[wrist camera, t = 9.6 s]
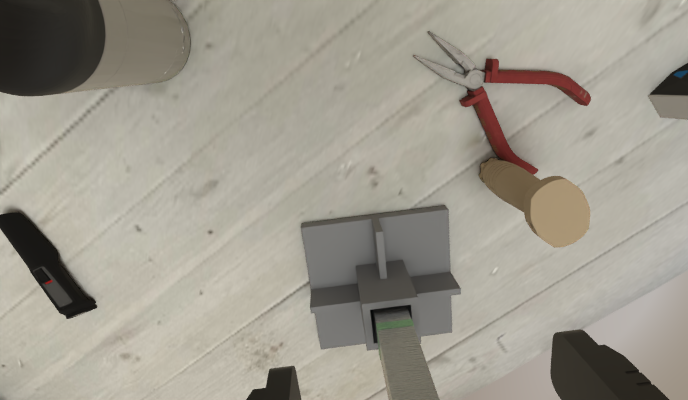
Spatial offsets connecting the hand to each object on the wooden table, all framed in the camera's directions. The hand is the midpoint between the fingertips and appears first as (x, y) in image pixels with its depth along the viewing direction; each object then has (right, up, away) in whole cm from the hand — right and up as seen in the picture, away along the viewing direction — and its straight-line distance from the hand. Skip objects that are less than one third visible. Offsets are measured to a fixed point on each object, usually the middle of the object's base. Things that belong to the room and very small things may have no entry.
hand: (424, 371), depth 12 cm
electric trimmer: (-39, -3, +38) cm, 54 cm away
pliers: (+16, +18, +34) cm, 42 cm away
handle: (+15, +9, +36) cm, 40 cm away
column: (+3, -8, +33) cm, 34 cm away
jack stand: (+2, -5, +40) cm, 40 cm away
